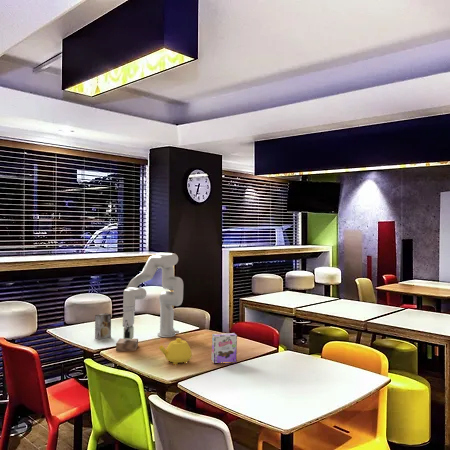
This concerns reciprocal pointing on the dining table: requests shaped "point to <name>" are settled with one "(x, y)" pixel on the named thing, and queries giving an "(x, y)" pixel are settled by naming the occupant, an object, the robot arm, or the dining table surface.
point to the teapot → (177, 351)
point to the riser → (126, 344)
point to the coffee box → (102, 325)
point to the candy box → (224, 347)
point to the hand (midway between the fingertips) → (128, 336)
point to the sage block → (130, 333)
